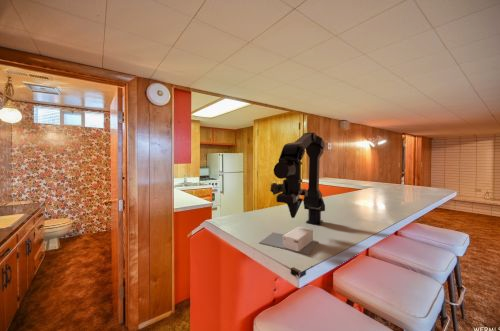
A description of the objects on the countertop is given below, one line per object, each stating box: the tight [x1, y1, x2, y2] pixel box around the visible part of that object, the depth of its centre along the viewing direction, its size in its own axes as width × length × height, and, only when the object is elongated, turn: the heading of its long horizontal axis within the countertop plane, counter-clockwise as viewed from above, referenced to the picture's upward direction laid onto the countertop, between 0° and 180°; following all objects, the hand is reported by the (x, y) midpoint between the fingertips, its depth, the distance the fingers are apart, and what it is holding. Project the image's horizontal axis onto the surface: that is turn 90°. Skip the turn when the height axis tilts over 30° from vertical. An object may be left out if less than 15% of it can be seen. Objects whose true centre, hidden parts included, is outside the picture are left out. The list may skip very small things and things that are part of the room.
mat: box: [258, 232, 319, 256], centre depth 75 cm, size 12×18×1 cm, turn 59°
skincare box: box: [283, 226, 314, 251], centre depth 73 cm, size 6×4×12 cm
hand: (293, 217), depth 79 cm, fingers closed
